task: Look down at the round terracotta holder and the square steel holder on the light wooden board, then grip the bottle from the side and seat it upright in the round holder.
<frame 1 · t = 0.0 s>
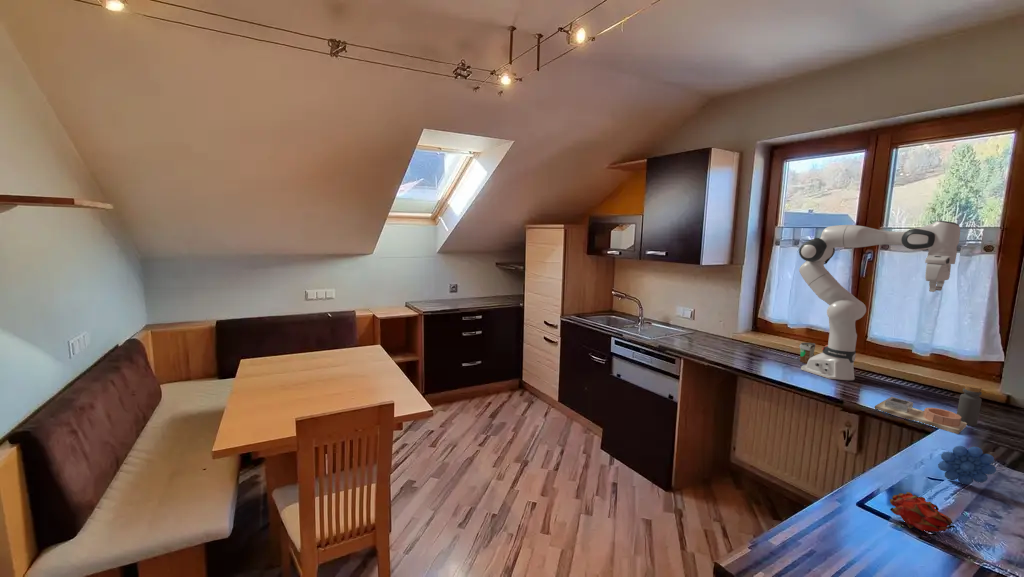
hand: (935, 291, 192), 48 cm above the worktop, tool pointing down, fingers open, 8 cm apart
wooden board: (918, 417, 176), on the worktop
food container: (804, 361, 247), on the worktop
bottle: (965, 423, 173), on the worktop
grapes: (962, 483, 130), on the worktop
round holder: (941, 420, 170), resting on wooden board
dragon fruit: (917, 527, 110), on the worktop
square holder: (898, 408, 181), resting on wooden board
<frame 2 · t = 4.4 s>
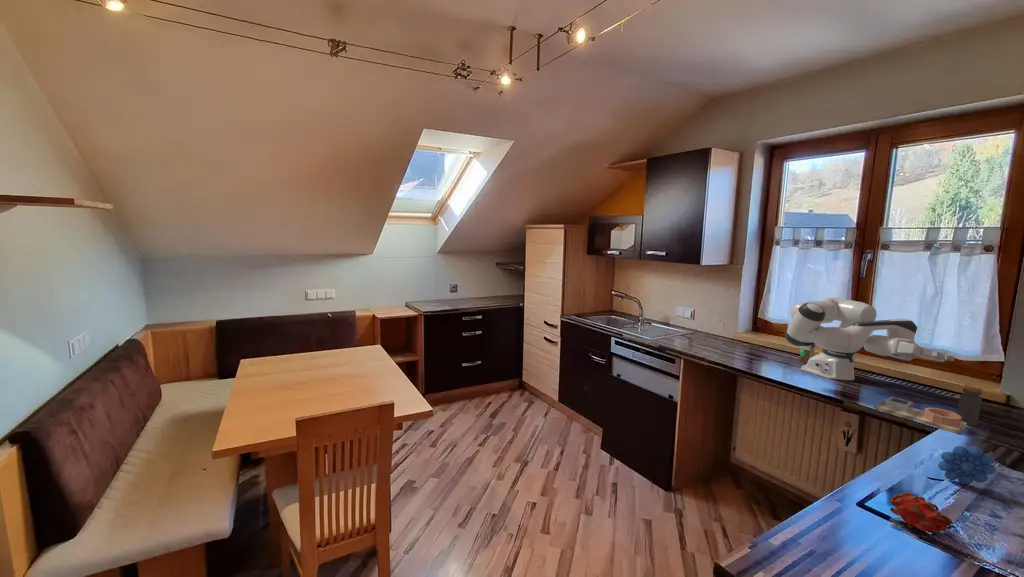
hand: (945, 356, 176), 24 cm above the worktop, tool horizontal, fingers open, 8 cm apart
nothing on the worktop moved.
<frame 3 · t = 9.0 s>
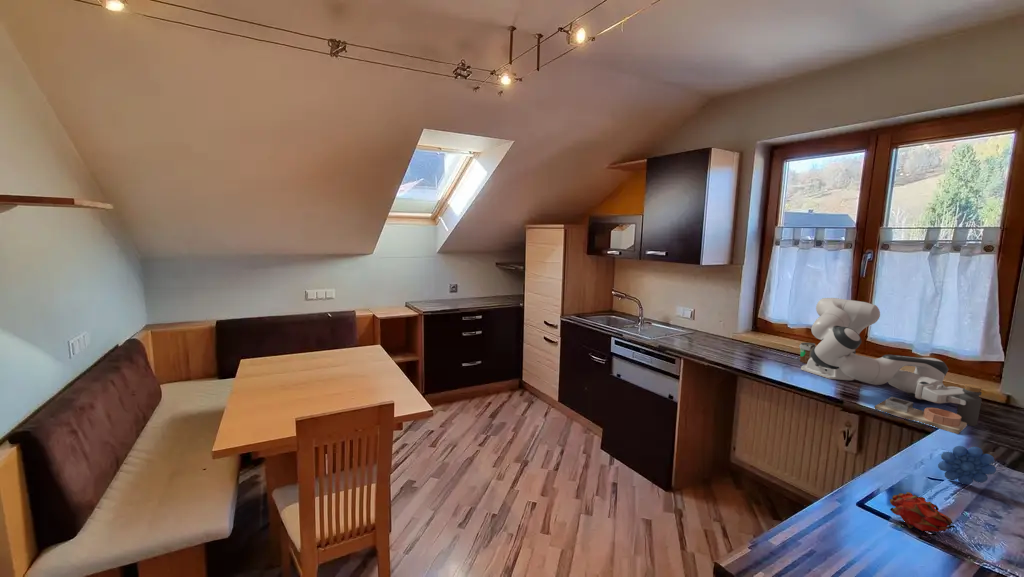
hand: (972, 402, 171), 9 cm above the worktop, tool horizontal, fingers closed on bottle, 6 cm apart
bottle: (965, 423, 173), on the worktop, touching gripper
everything else where it was.
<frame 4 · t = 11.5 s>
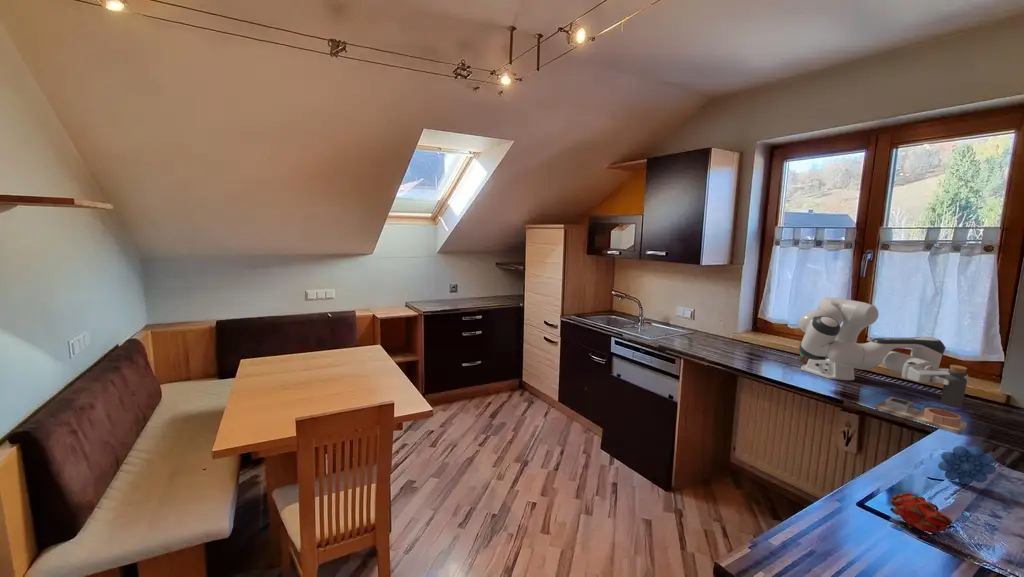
hand: (958, 383, 167), 17 cm above the worktop, tool horizontal, fingers closed on bottle, 5 cm apart
bottle: (950, 404, 170), point 8 cm above the worktop, touching gripper
everything else where it was.
when the fingers open (11 cm above the worktop, at t = 14.1 s): bottle stays where it is, resting on round holder.
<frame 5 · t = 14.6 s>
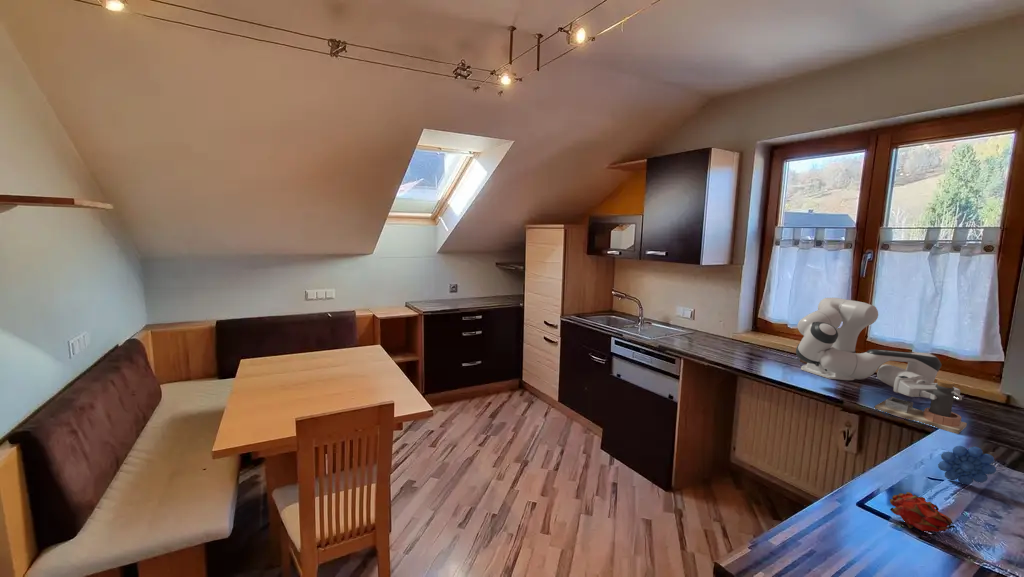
hand: (948, 398, 168), 11 cm above the worktop, tool horizontal, fingers open, 8 cm apart
bottle: (938, 419, 170), point 2 cm above the worktop, touching gripper, round holder
everything else where it was.
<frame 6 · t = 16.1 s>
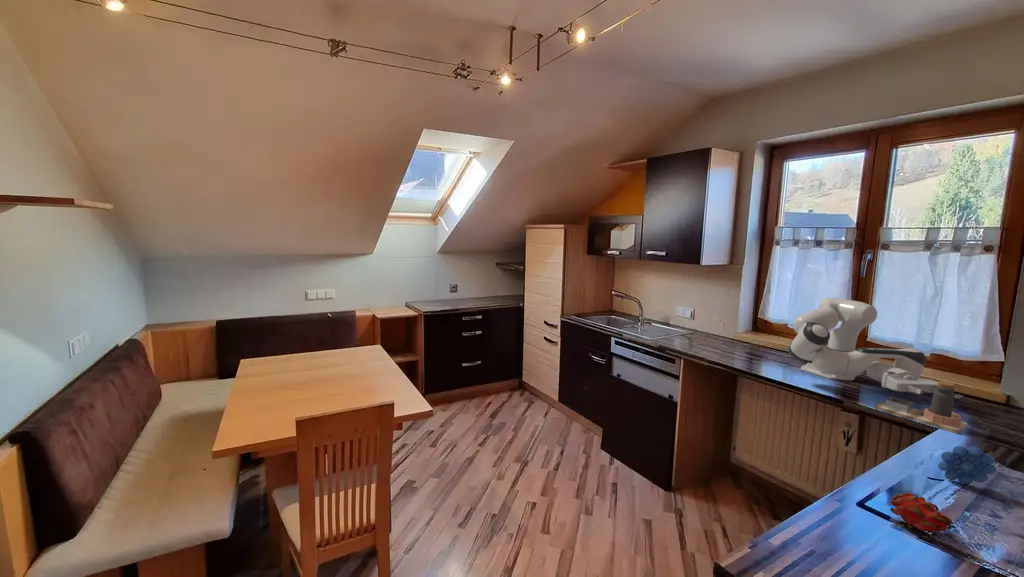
hand: (933, 392, 174), 11 cm above the worktop, tool horizontal, fingers open, 8 cm apart
bottle: (939, 420, 170), point 1 cm above the worktop, touching wooden board
everything else where it was.
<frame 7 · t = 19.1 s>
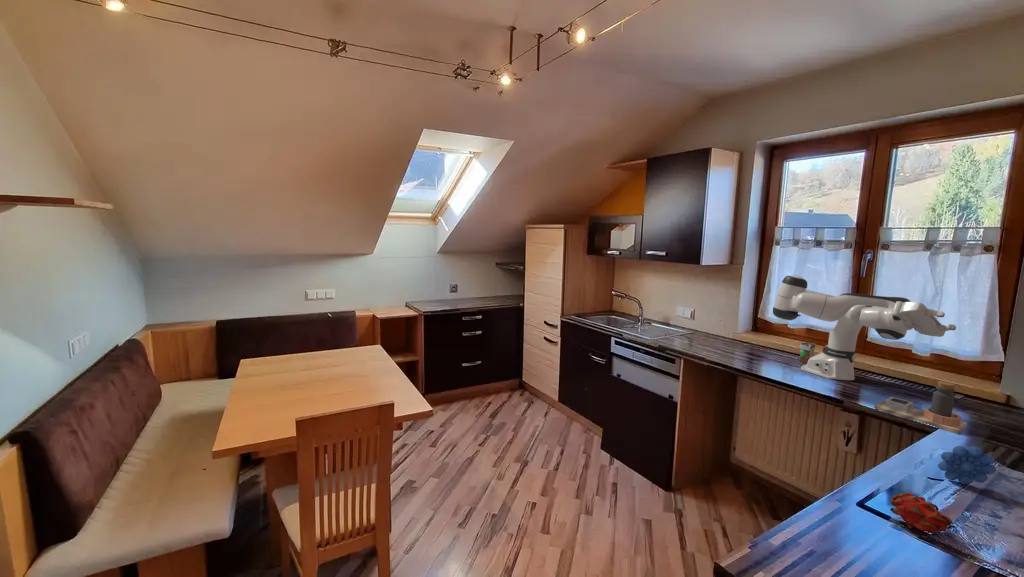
hand: (949, 321, 166), 40 cm above the worktop, tool horizontal, fingers open, 8 cm apart
nothing on the worktop moved.
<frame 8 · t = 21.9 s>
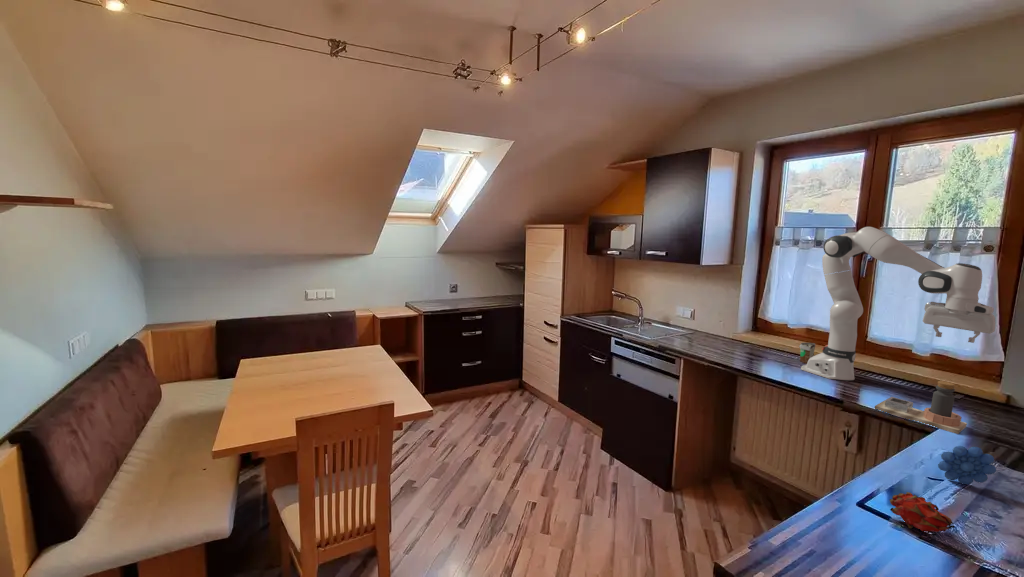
hand: (954, 339, 176), 31 cm above the worktop, tool pointing down, fingers open, 8 cm apart
nothing on the worktop moved.
at the end: bottle 0.9 cm off-centre on the round holder, point 0.0 cm above the round holder's base; bottle tilted 0°; the gripper is holding nothing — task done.
